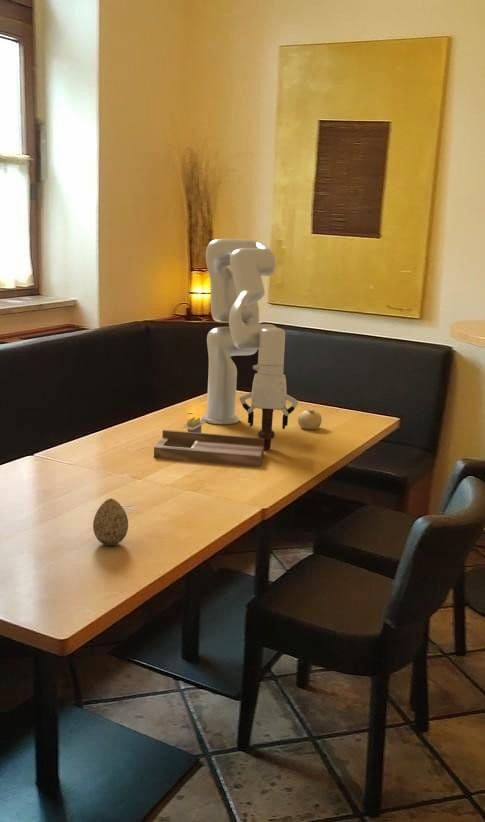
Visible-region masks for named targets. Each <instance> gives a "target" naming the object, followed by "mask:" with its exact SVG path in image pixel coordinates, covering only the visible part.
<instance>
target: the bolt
mask: <svg viewBox="0 0 485 822" xmlns="http://www.w3.org/2000/svg"><path fill="white" fill-rule="evenodd" d="M261 410H262V413H261V428H260V430H259V431H257V438H264V450H265V451H269V450H271V448H272V447H271V446H272V439H273V440H274V439H275V435H276V434H275V431H273V419H274V418H273V417H274V410H273V409H261Z"/></svg>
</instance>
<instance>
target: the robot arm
mask: <svg viewBox="0 0 485 822" xmlns="http://www.w3.org/2000/svg"><path fill="white" fill-rule="evenodd" d="M272 251H273V250H271V249H270V248H269V247H267V246H266V245H264V244H263V243H261V242H260V241H258V240H254V239H241V238H240V239H237V238H218V239H217V238H216V239H213V240H211V241H210V242H209V243H208V245H207V246H206V250H205V264H206V268H207V271H208V275H209V279H210V281H209V282H210V312H211V317H212V319H213V320H214V321H215V322H217V323H226V324H227V323H228V326H218V327H214V328H212V329H211V330H209V331H208V333H207V335H206V336H207V337H206V344H207V346H206V348H207V353H208V372H207V373H208V375H207V376H208V379H207V396H206V397H207V399H206V400H207V403H206V413H204V414H202V416H201V419H202V421H205V423H208V424H212V425H213V424H214V425H234V424H237V423H238V422H239V421H240V416H239V415H236V400H237V399H236V396H237V378H238V369H237V366H236V364H235V362H234V361H233V360H232V357H234V356H236V357H237V356H251V355H254V354H256V353H258V355H257V356H258V357H257V364H253V365H252V370H255V371H256V372H257V373H254V377H253V381H252V387H251V388H252V389H251V392H249V393H247V394H244V395H241V396H240V397H239V402H240V404H241V405H242V408H243V409H244V410H245V411H246V412H247V424H249V427H251V428H252V427H253V426H254V413H255V412H254V410H255V409H261V410H262V409H273V411H278V410H279V411H281V412H282V413H283V415H282V422H281V423H282V424H281V429H282V430H285V429H286V426H288V423H289V422H288V420H289V415H290V414H291V413H293V412H294V411H295V409H296V407H298V404H299V400H298V399H295V398H294V397H293V396H290V395H289V394H287V378H286V374H284V367H285V366H284V365H285V363H284V362H285V346H286V345H285V344H286V332H285V330H284V329H283V328H280V327H277V326H275V324H272V323H271V324H270V323H260V307H259V303H258V301H260V300H261V299H263V297H264V295H265V287H264V283H263V279H262V278H263V277H268V276H269V277H270V276H271V275H273V274H274V273H275V271H276V269H277V268H276V267H277V262H276V261H277V260H276V257H275V254H274V253H273V252H272ZM250 398H251V399H250ZM249 399H250V400H251V401H250V403H251V405H249V404H248V403H247V401H246V400H249ZM287 402H290V403H291V406H290V407H288V408H287V407H286V405H287Z"/></svg>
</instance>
